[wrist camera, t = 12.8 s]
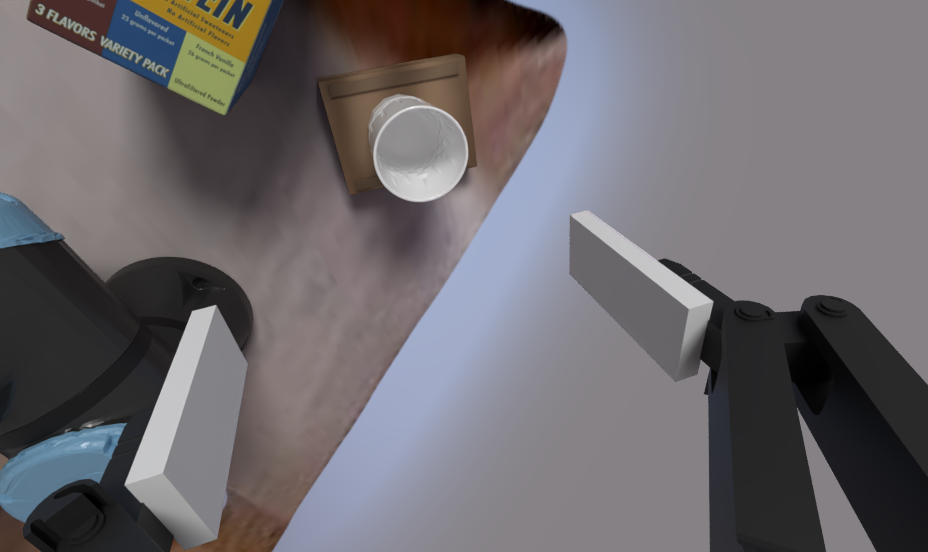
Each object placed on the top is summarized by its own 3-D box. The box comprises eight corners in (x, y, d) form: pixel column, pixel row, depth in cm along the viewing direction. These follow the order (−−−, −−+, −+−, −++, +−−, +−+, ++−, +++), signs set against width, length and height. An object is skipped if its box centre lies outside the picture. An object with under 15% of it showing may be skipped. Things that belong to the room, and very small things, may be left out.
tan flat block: (347, 185, 49) (350, 196, 46) (317, 78, 43) (317, 82, 40) (469, 158, 51) (477, 167, 49) (456, 53, 45) (465, 56, 43)
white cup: (453, 142, 47) (483, 170, 39) (389, 182, 47) (406, 219, 39) (414, 70, 42) (440, 85, 34) (344, 115, 43) (353, 141, 34)
